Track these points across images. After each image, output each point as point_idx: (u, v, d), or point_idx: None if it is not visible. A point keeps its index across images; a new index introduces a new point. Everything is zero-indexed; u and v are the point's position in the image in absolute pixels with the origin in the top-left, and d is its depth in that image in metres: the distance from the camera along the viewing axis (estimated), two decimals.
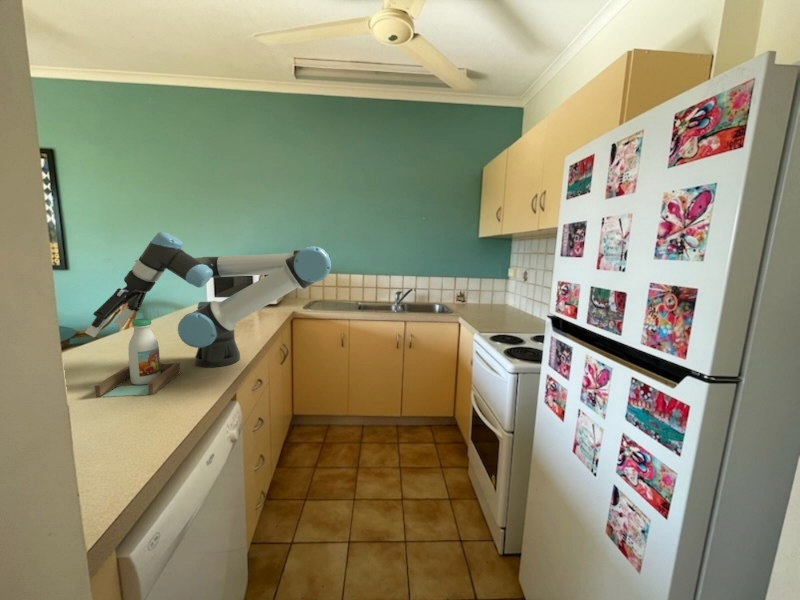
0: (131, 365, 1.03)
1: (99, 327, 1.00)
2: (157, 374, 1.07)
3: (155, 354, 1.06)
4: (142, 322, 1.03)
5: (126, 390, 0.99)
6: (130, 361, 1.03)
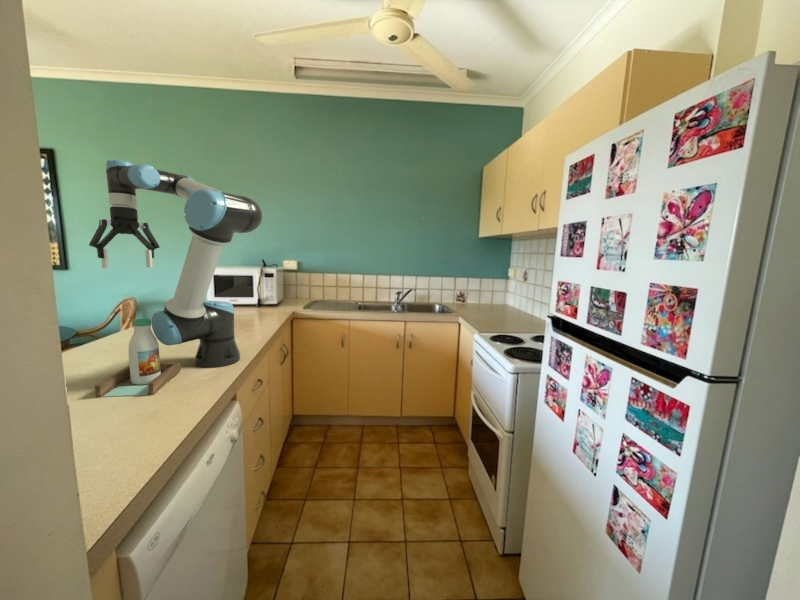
0: (131, 365, 1.03)
1: (104, 257, 1.14)
2: (157, 374, 1.07)
3: (155, 354, 1.06)
4: (142, 322, 1.03)
5: (126, 390, 0.99)
6: (130, 361, 1.03)
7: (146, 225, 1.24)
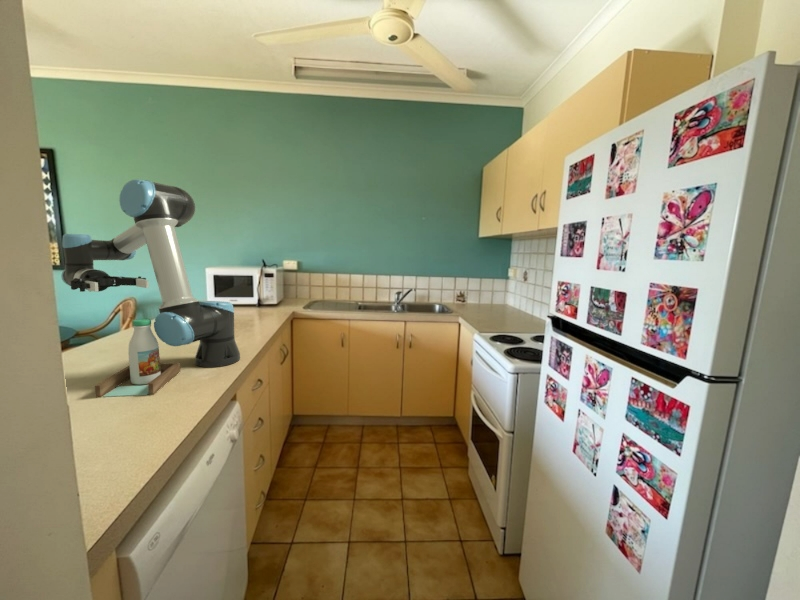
0: (131, 365, 1.03)
1: (89, 282, 1.03)
2: (157, 374, 1.07)
3: (155, 354, 1.06)
4: (142, 322, 1.03)
5: (126, 390, 0.99)
6: (130, 361, 1.03)
7: (122, 277, 1.20)
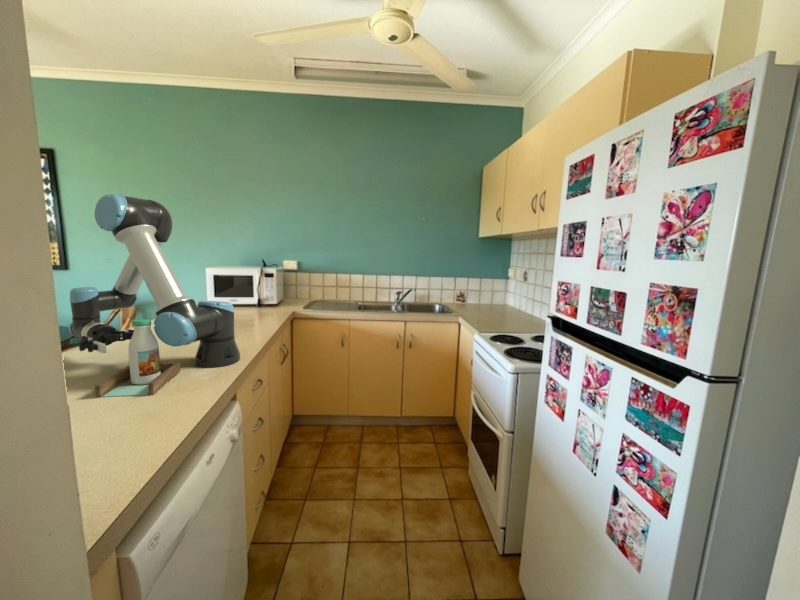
0: (131, 365, 1.03)
1: (97, 344, 1.04)
2: (157, 374, 1.07)
3: (155, 354, 1.06)
4: (142, 322, 1.03)
5: (126, 390, 0.99)
6: (130, 361, 1.03)
7: (128, 329, 1.21)
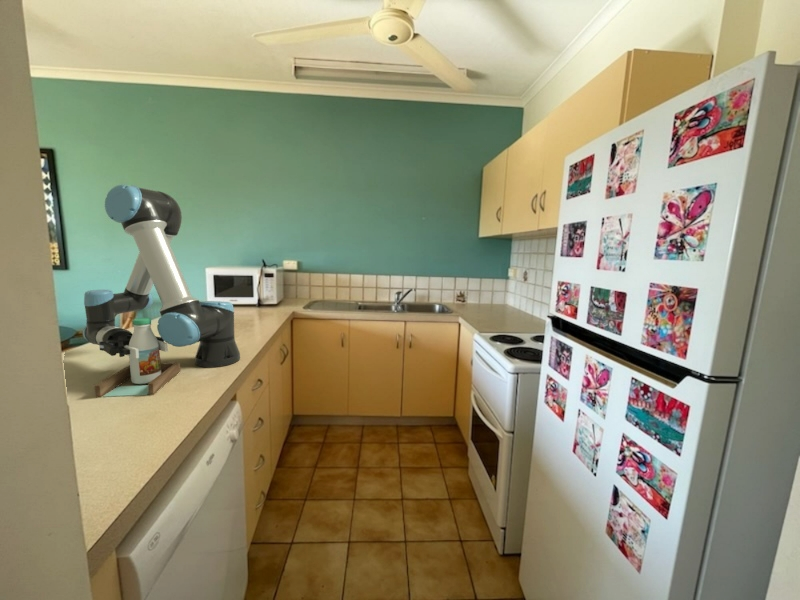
0: (131, 364, 1.03)
1: (129, 348, 1.01)
2: (158, 373, 1.07)
3: (155, 354, 1.05)
4: (142, 321, 1.03)
5: (126, 390, 0.99)
6: (130, 360, 1.03)
7: None
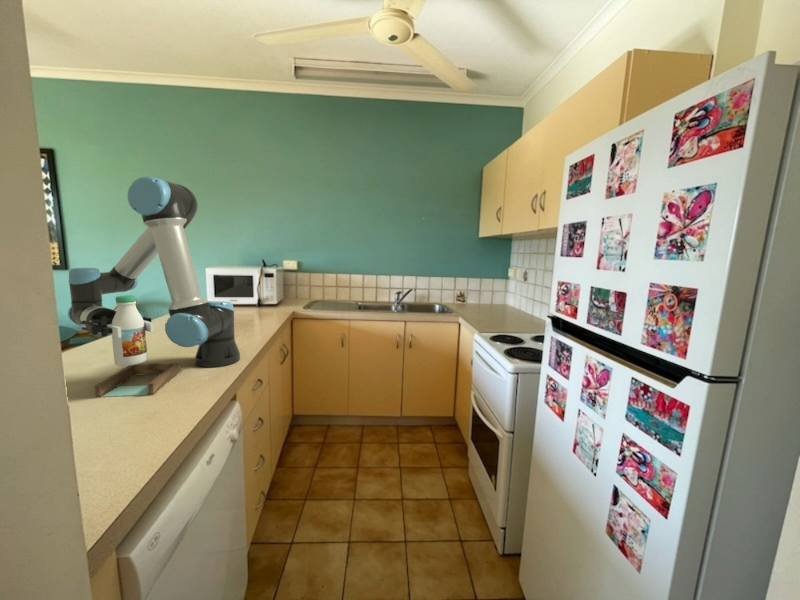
0: (114, 345, 0.95)
1: (111, 327, 0.94)
2: (143, 355, 0.99)
3: (140, 334, 0.98)
4: (126, 298, 0.95)
5: (126, 390, 0.99)
6: (113, 340, 0.95)
7: None
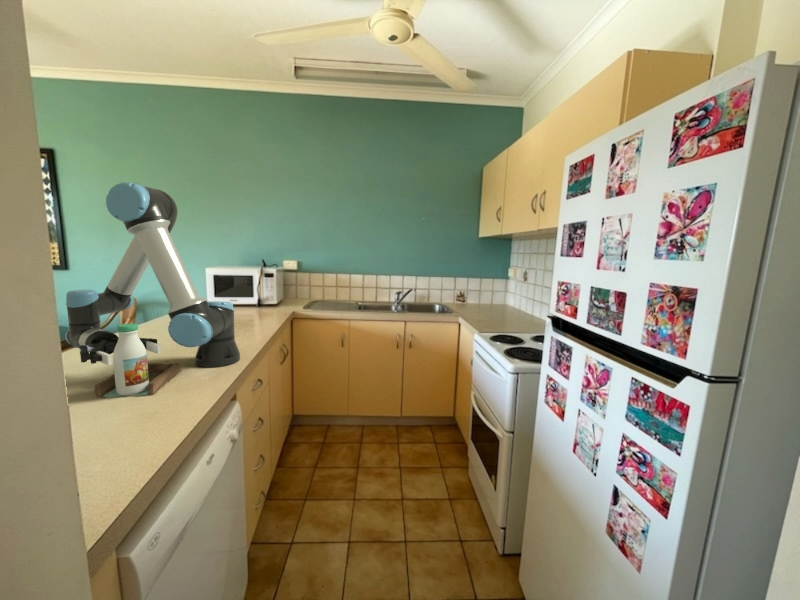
0: (116, 374, 0.95)
1: (101, 354, 0.92)
2: (145, 383, 0.99)
3: (142, 362, 0.98)
4: (128, 327, 0.95)
5: None
6: (115, 370, 0.95)
7: None
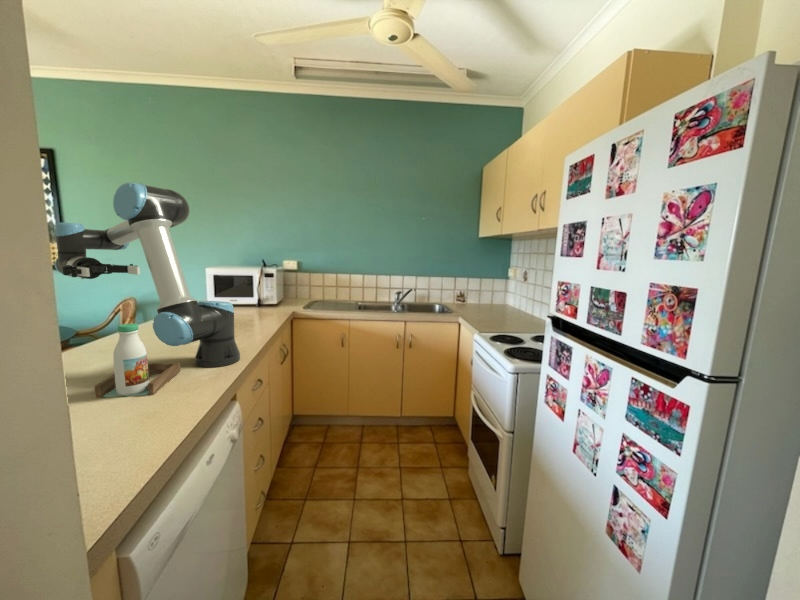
0: (116, 374, 0.95)
1: (81, 268, 1.05)
2: (145, 383, 0.99)
3: (142, 362, 0.98)
4: (128, 327, 0.95)
5: None
6: (115, 370, 0.95)
7: (114, 265, 1.22)
